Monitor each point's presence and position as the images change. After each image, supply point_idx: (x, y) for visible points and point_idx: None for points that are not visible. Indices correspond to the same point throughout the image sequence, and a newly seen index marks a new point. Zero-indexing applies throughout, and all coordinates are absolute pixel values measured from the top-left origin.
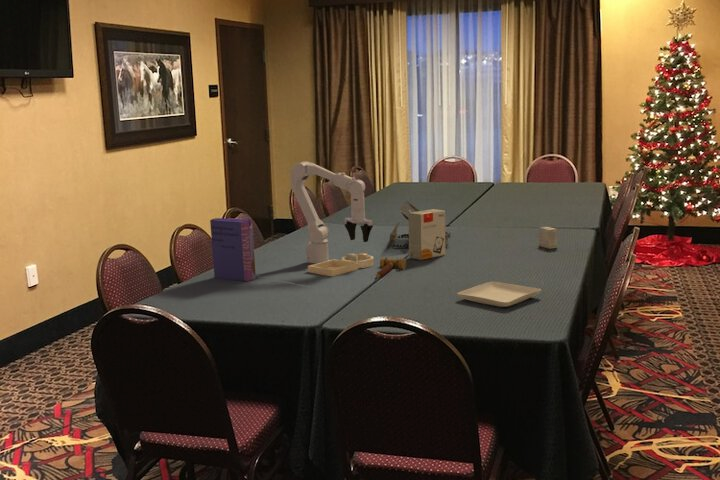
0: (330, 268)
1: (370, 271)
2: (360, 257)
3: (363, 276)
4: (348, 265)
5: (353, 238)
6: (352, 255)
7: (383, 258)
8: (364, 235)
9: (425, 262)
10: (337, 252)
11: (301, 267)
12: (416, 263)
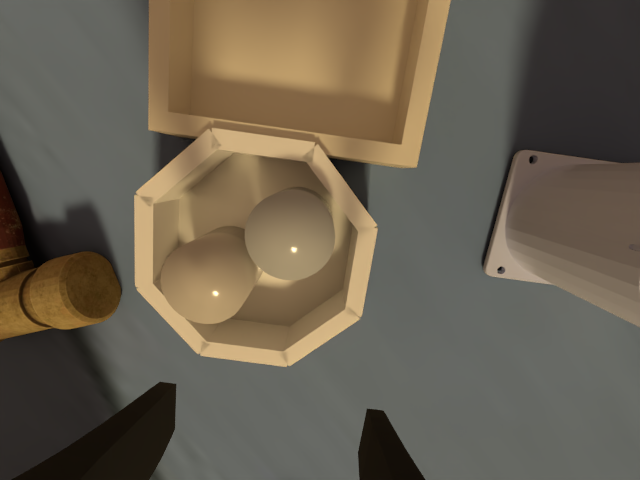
0: (364, 59)
1: (98, 156)
2: (201, 238)
3: (30, 2)
4: (158, 16)
5: (364, 449)
6: (252, 211)
7: (43, 294)
8: (77, 441)
9: (8, 460)
10: (590, 475)
11: (618, 28)
12: (29, 427)
